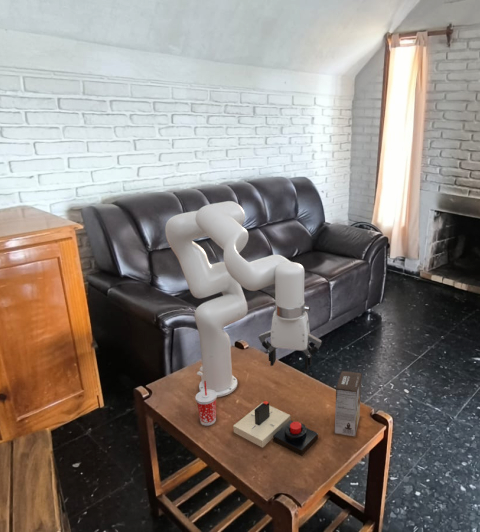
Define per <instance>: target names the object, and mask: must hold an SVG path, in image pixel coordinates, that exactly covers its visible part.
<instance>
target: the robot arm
mask: <svg viewBox="0 0 480 532" xmlns="http://www.w3.org/2000/svg"><path fill="white" fill-rule="evenodd" d="M245 215H246V214H245V211H244V209H243V207H242V206H241V205H240V204H239V203H237V202H235V201H232V200H227V201H222V202H215V203H209V204H206V205H203V206H202V207H200V208H199V209H198V210H194V211H193V210H192V211H188V212H182V213H178V214H176V215H173V216H171V217H170V218H169V219H168V220H167V221H166V223H165V228H164V229H165V230H164V231H165V237H166V241H167V243H168V245H169V247H170V249H171V250H172V252H173V253H174V255H175V256H176V258H177V260H178V262H179V265H180V267H181V270H182V273H183V276H184V278H185V282H186V284H187V286H188V289H189V291H190V293H191V295H192V296H193V298H196V299H204V298H208V297H211V296H214V295H216V294H219V293H221V294H222V295H221V296H219V297H216V298H215V297H214V298H212V299H210V300H206V301H204V302H203V303H201V304H200V305H198V306H197V307H196V309H195V311H194V315H193V317H194V321H195V325H196V328H197V332H198V338H199V347H200V355H201V356H200V359H201V366H200V367H199V371H197V373H196V376H199V377H201V380H200V382H199V383H198V390H199V392H200V391H202V390H205V386H204V381H206V390H214V391H215V392H216V394H217V398H222V397H225V396H228V395H230V394H232V393H233V392H234V391H235V390H236V389H237V388H238V379H237V378H236V376H234V375H233V368H232V367H233V366H232V350H231V349H232V348H231V347H232V346H231V338H230V336H229V334H228V332H226V331H225V330H224V329H225V327H228V326H230V325H232V324H234V323H236V322H239V321H241V320H243V319H244V318H245V317H246V316H247V314H248V309H249V308H248V302H247V299H246V297H245V294H244V291H243V289H245V290H248V291H252V292H256V291H259V290H261V289H264V288H267V287H269V286H272V285H274V291H275V294H274V296H275V298H274V299H275V300H274V301H275V310H274V311H273V313H272V319H271V325H270V326H271V327H270V330H268V331H264V332H262V333H260V334H259V336H258V340H259V342H260V343H261V346H262V347H263V348H264V349H265V350H266V353H268V362H269V363H270V367H273V366H274V365H275V363H276V361H277V349H283V350H292V351H302V352H303V353H304V355H305V357H304V370H306V371H307V370H309V367H311V366H312V360H313V359H312V358H313V357H312V356H313V355H314V354H315V353H316V352H318V351H319V348H320V347H321V345H322V343H323V341H322V340H321V339H320V338H318V337H317V336H314V335H313V334H311V331H310V321H309V315H308V313H309V312H310V309H311V308H310V306H308V305H306V302H305V275H306V274H305V268H304V266H303V265H302V264H300V263H298V262H293V261H291V260H289V259H288V258H286V257H285V256H283V255H281V254H271V255H268V256H265V257H261V258H258V259H255V260H252V261H247V260H246V259H245V258H244V257H242V255H240V253H241V252H242V251H243V250H244V248H245V247H246V245H247V243H248V241H249V232H248V230H247V229H246V228H245V227H243V224H244V223H245V220H246V216H245ZM206 237H209V238H210V240H212V241H213V242H214V243H215V244H216V245H217V246H218V247H220V248H221V249H222V250H223V261H219V262H218V261H217V262H215V263H210V261H209V258H208V255H207V253H206V251H205V249H204V248H203V247H201V245H199V244H198V243H197V242H195V241H193V240H197V239H202V238H206ZM267 338H270V342H269V340H268V339H267ZM310 342H311V343H313V344H314V345H313V346H312V347H311V345H310Z"/></svg>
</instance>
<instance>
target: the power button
mask: <svg viewBox="0 0 480 532" xmlns="http://www.w3.org/2000/svg"><path fill="white" fill-rule="evenodd" d="M299 422H300V421H293V422H292V423H291V424H290V432H291V433H292V434H299V433H300V432H301V423H302V422H300V423H299Z"/></svg>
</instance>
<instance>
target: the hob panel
mask: <svg viewBox="0 0 480 532" xmlns="http://www.w3.org/2000/svg"><path fill="white" fill-rule="evenodd" d="M263 402H264V401H263ZM263 402H261V403H260V404H259V405H257V406H256V407H255V408H253V409H252V410H251V411H250V412H248V413H247V414H246V415H245V416H243V417H242V418H241V419H239V420H238V421H237V422H236V423H234V424H233V425H232V427H233V433H234V434H236V435H238V436H240V437H241V438H243V439H245V440H247V441H248V442H251V443H252V444H255V445H257V446H258V447H260V448H264V447H265V446H266V445H267V444H268V443H269V442H270V441H272V440H273V436H274V435H275V434H276V433H277V432H278V431H279V430H280V429H281V428H282V427H283V426H284V425H286V424H287V423H288V422H289V421H290V420H291V415H290V414H289V413H287V412H285V411H283V410H280V409H278V408H276V407H274V406H272V405H269V412H270V417H269V418H268V419H266V420H265V421H264V422H263V423H262V424H260V425H257V424H255V409H256V408H257V407H259V406H260V405H261V404H262V403H263Z"/></svg>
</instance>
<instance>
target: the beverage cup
mask: <svg viewBox="0 0 480 532" xmlns="http://www.w3.org/2000/svg"><path fill="white" fill-rule="evenodd" d="M204 386H205V390H202V391H200V390H199V391H198V392H197V393H196V394H195V402H196V404H197V410H198V416H199V423H200V425H202V426H206V427H207V426H208V427H209V426H212V425H213V424H215V423H216V421H217V398H218V397H217V394H216V392H215V391H214V390H206V381H204Z"/></svg>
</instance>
